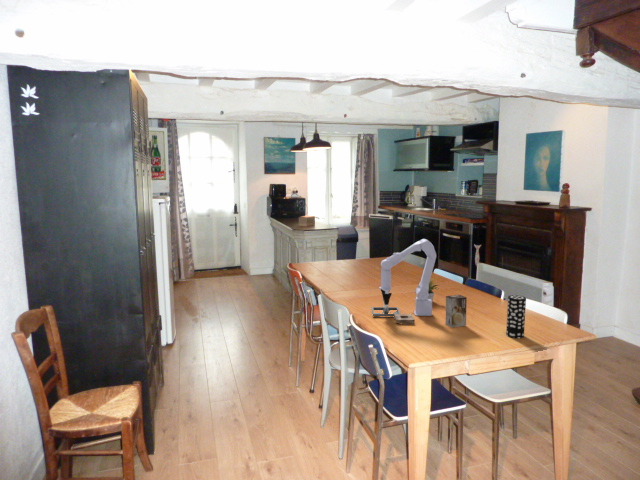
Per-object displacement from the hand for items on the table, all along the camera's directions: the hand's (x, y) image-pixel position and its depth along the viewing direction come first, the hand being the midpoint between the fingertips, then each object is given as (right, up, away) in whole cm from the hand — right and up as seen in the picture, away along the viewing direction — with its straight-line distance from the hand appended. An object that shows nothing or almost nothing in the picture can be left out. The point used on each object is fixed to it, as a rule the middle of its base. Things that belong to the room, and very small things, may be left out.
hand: (385, 302), depth 272 cm
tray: (0, -7, +1) cm, 7 cm away
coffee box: (+35, -10, -21) cm, 42 cm away
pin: (0, -6, 0) cm, 6 cm away
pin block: (+8, -9, -13) cm, 18 cm away
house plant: (+30, -3, +25) cm, 40 cm away
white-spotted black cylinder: (+60, -12, -38) cm, 72 cm away
